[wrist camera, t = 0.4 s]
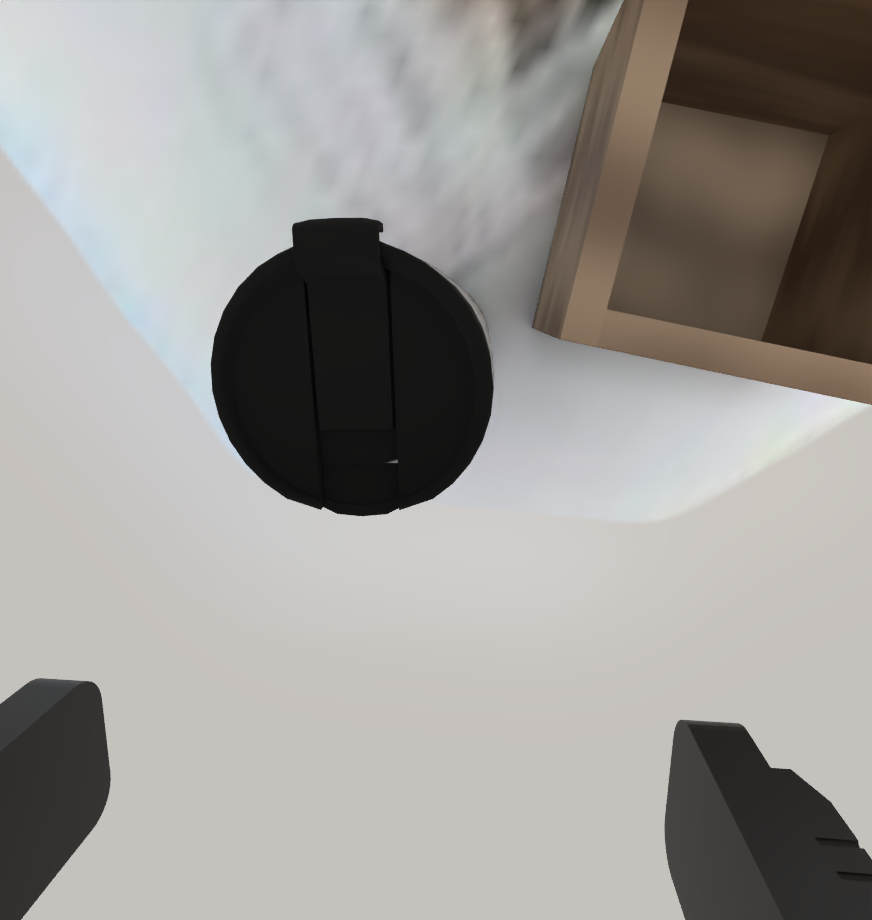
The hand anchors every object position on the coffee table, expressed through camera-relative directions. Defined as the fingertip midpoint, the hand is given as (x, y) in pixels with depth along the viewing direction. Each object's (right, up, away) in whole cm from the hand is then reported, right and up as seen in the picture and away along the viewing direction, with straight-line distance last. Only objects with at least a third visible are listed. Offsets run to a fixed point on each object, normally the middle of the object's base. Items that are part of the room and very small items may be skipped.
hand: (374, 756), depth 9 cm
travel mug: (0, +10, +24) cm, 26 cm away
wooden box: (+13, +15, +21) cm, 29 cm away
